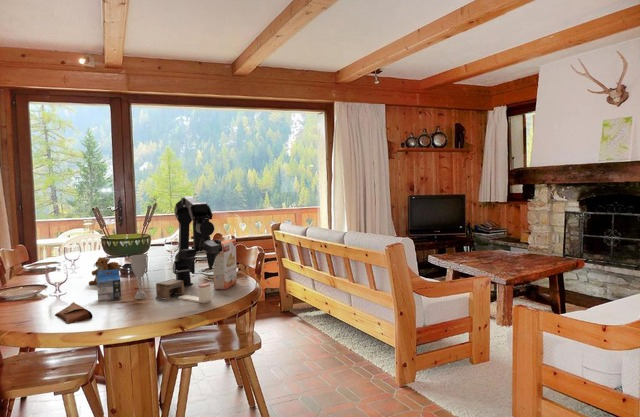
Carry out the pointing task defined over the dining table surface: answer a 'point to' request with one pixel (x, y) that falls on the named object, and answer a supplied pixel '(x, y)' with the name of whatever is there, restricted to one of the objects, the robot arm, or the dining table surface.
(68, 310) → the sunglasses case
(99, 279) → the label tape cartridge
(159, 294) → the box
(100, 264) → the stuffed squirrel
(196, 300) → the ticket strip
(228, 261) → the cracker box
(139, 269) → the chalice
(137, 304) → the dining table surface
